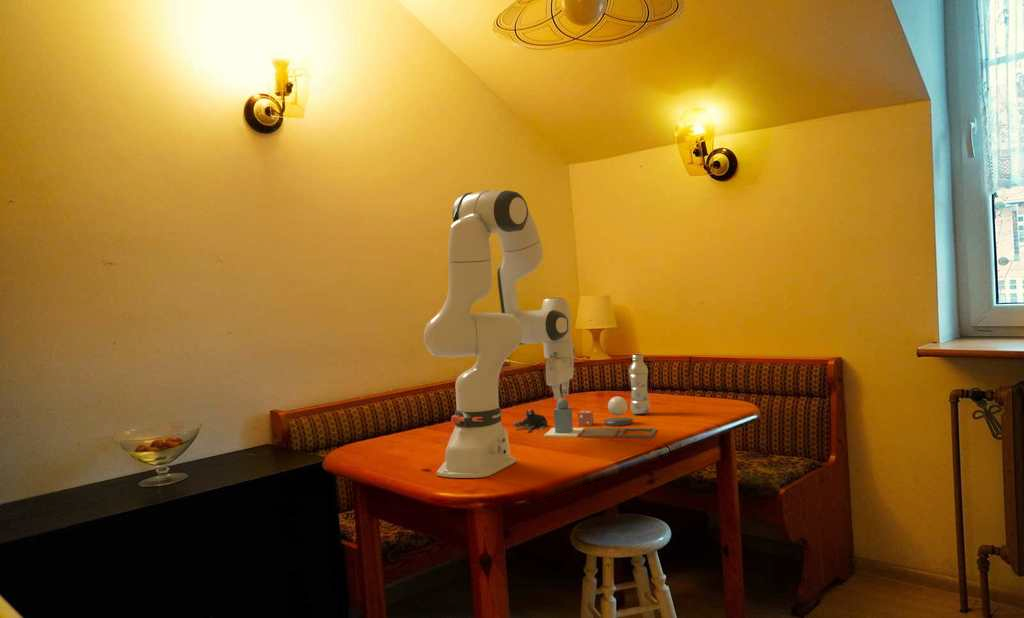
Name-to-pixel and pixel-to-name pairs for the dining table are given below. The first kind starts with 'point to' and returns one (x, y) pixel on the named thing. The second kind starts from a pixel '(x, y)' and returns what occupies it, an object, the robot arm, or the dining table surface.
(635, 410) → the plastic bottle
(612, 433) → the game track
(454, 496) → the dining table surface
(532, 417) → the stuffed animal
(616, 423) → the base
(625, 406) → the white ball
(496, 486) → the dining table surface
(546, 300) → the robot arm
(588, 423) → the die
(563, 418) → the pawn
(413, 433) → the dining table surface
